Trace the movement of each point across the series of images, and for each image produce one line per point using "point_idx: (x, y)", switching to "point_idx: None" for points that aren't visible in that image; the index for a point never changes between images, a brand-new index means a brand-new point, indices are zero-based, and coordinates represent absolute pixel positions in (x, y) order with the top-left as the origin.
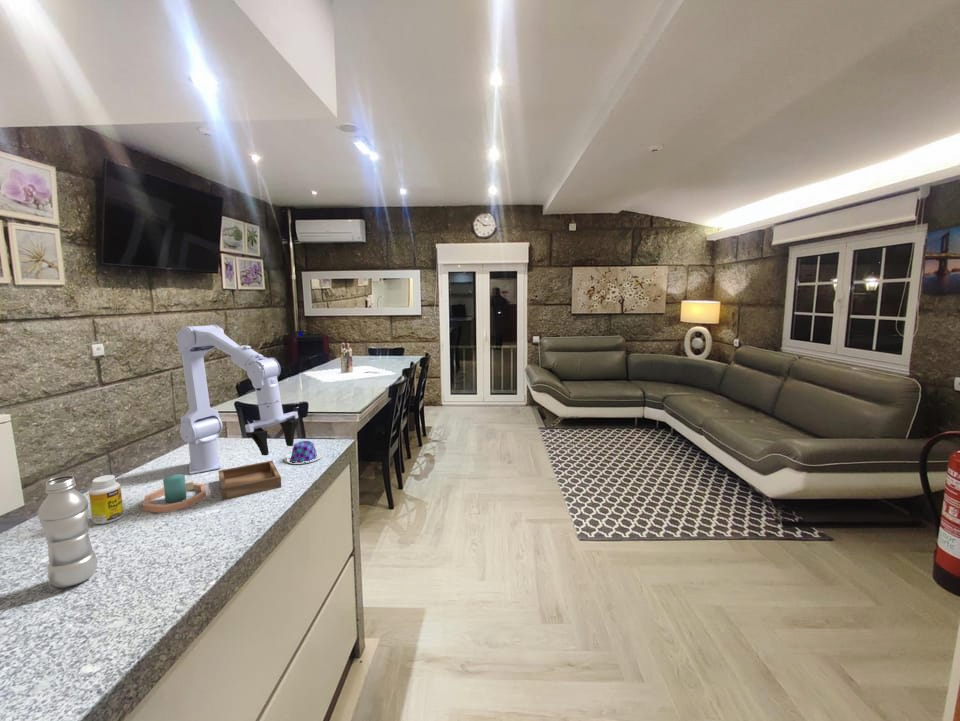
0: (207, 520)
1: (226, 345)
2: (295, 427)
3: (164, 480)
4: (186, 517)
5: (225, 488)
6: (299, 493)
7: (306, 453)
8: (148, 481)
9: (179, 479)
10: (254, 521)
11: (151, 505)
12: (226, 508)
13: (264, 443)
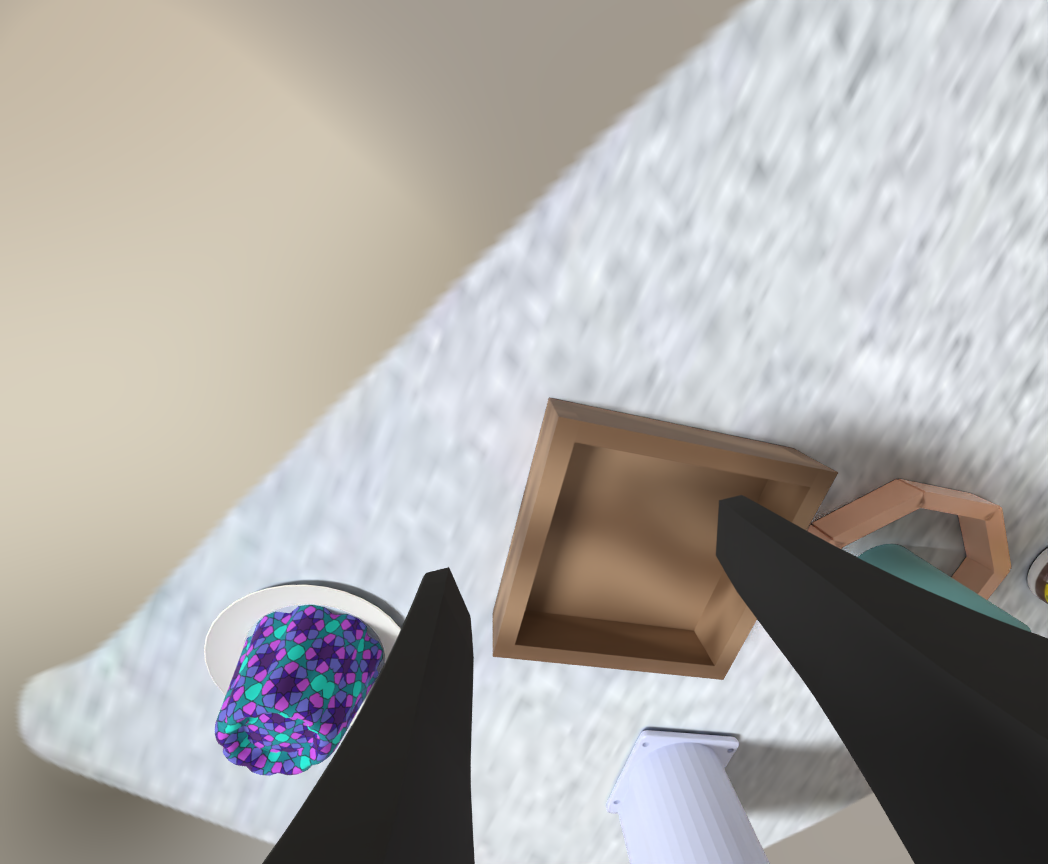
0: (945, 288)
1: None
2: (283, 862)
3: None
4: (960, 389)
5: (822, 472)
6: (511, 235)
7: (295, 652)
8: (835, 750)
9: None
10: (854, 62)
11: (1003, 546)
12: (832, 351)
13: (892, 585)
